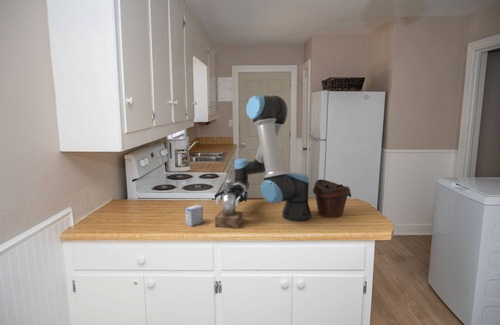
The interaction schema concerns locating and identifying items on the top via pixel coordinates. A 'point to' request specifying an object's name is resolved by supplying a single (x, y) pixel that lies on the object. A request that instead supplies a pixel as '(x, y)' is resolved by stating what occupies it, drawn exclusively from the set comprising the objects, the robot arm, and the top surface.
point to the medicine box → (194, 215)
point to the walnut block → (228, 220)
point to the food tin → (228, 204)
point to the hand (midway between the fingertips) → (226, 202)
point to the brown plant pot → (330, 198)
